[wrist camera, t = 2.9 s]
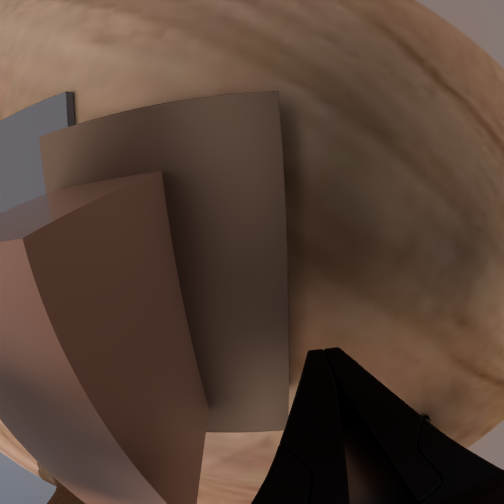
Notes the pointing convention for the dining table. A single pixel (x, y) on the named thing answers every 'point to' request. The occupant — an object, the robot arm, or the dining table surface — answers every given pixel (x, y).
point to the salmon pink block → (100, 344)
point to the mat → (29, 147)
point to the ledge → (209, 233)
